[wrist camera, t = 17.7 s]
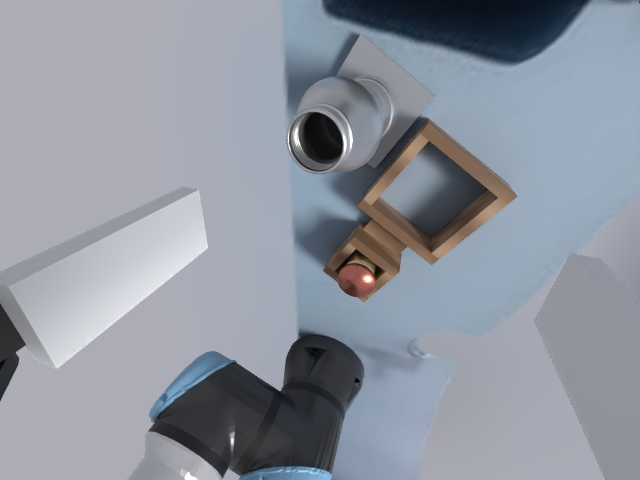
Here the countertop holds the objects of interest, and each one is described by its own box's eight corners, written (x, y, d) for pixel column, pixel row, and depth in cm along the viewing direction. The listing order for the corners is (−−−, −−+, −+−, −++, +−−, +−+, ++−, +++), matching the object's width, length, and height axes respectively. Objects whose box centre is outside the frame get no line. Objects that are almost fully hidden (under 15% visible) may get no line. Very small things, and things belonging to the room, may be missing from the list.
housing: (380, 292, 47) (376, 311, 43) (319, 245, 46) (310, 261, 42) (508, 184, 34) (518, 198, 31) (428, 118, 34) (428, 124, 30)
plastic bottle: (360, 149, 36) (304, 215, 20) (331, 96, 35) (242, 120, 18) (410, 119, 33) (394, 168, 17) (381, 60, 31) (330, 48, 15)
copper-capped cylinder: (367, 275, 46) (359, 303, 40) (342, 255, 45) (330, 281, 40) (388, 255, 43) (382, 282, 37) (361, 235, 43) (352, 259, 37)
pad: (375, 167, 38) (374, 169, 37) (312, 116, 37) (310, 118, 36) (434, 95, 32) (435, 96, 32) (362, 35, 32) (360, 34, 31)
